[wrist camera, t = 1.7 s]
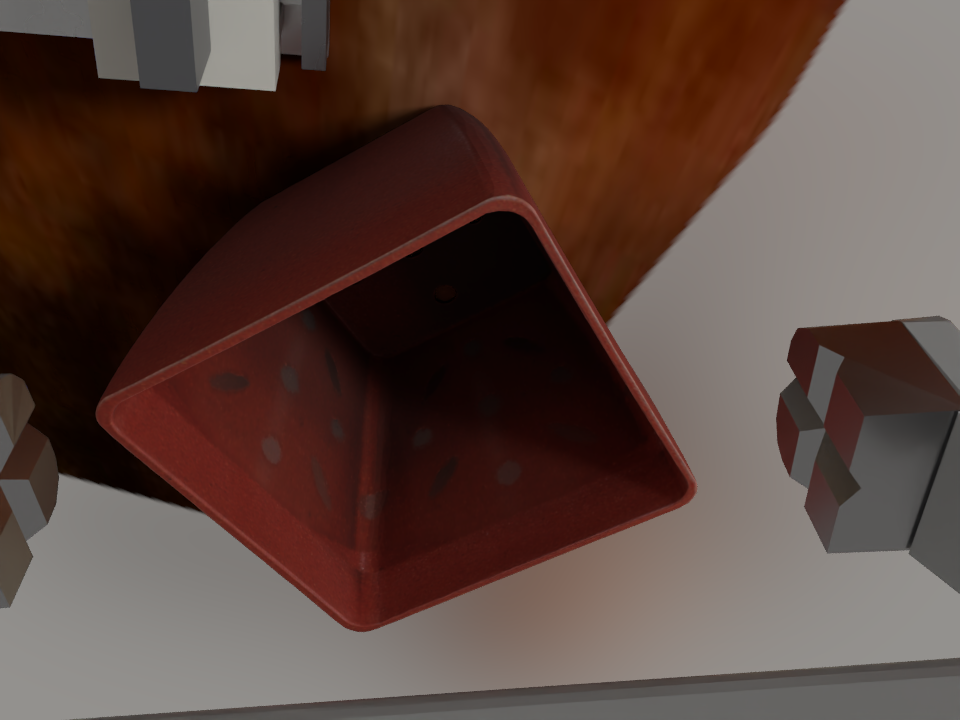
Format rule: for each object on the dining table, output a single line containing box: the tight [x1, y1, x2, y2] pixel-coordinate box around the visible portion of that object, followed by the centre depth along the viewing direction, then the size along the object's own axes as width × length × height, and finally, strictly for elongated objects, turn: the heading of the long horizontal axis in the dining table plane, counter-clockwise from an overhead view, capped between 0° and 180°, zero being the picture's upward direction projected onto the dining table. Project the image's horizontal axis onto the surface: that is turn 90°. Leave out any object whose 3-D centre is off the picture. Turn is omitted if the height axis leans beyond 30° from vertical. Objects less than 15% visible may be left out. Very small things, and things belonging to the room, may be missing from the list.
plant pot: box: [96, 105, 697, 632], centre depth 45 cm, size 19×19×17 cm
